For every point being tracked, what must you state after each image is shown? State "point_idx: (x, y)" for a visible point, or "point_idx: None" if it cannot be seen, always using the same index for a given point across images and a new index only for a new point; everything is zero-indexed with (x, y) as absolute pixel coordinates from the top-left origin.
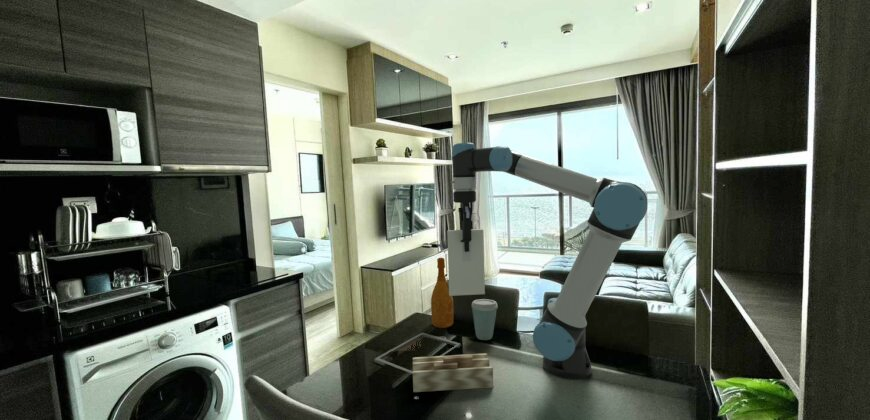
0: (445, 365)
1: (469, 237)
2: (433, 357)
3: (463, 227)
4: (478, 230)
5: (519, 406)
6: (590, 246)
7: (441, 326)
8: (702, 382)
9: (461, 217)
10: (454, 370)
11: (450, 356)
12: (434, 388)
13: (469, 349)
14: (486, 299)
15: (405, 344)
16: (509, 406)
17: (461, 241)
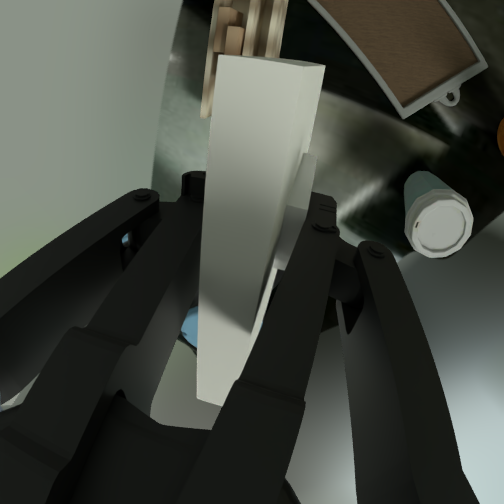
0: (216, 28)
1: (131, 247)
2: (272, 12)
3: (67, 259)
4: (198, 373)
5: (169, 133)
6: (24, 391)
7: (500, 123)
8: (190, 345)
9: (48, 375)
10: (208, 44)
11: (234, 41)
12: None
13: (379, 128)
14: (459, 245)
15: (443, 7)
16: (171, 119)
17: (188, 176)
